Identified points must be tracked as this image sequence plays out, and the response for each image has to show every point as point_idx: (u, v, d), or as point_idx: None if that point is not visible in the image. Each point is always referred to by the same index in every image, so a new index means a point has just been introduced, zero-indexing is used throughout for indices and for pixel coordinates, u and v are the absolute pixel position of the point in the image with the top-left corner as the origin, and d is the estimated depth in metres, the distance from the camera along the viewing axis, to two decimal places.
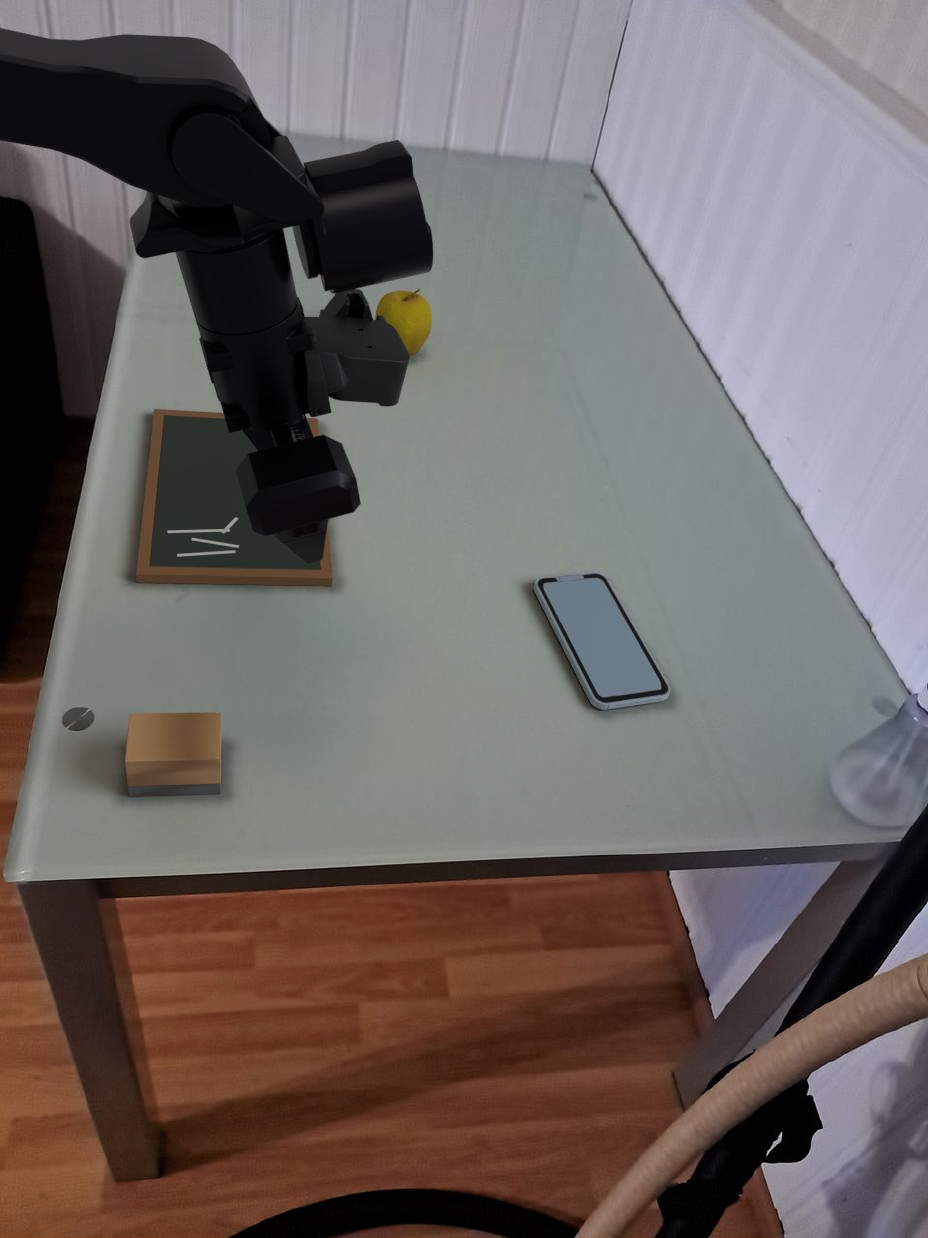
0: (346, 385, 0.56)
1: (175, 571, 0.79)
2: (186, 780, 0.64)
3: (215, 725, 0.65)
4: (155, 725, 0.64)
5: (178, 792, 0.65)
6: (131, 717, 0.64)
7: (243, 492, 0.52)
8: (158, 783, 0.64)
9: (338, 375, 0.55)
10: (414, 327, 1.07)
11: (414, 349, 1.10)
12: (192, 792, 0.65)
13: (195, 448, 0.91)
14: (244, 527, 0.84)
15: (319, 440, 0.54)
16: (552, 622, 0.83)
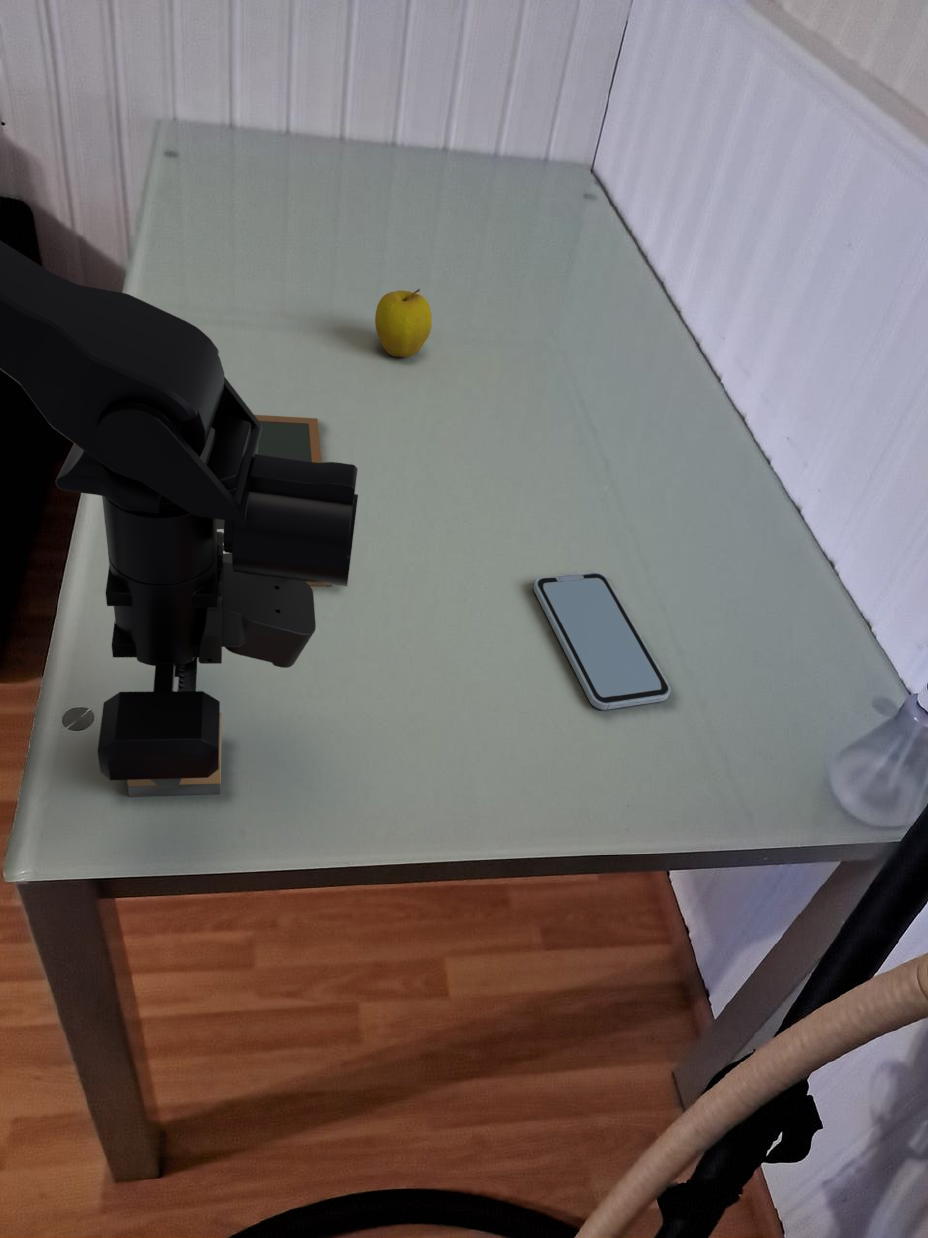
0: (243, 643, 0.55)
1: None
2: (186, 780, 0.64)
3: None
4: None
5: (178, 792, 0.65)
6: None
7: (101, 732, 0.51)
8: None
9: (237, 634, 0.55)
10: (414, 327, 1.07)
11: (414, 349, 1.10)
12: (192, 792, 0.65)
13: None
14: None
15: (196, 697, 0.53)
16: (552, 622, 0.83)
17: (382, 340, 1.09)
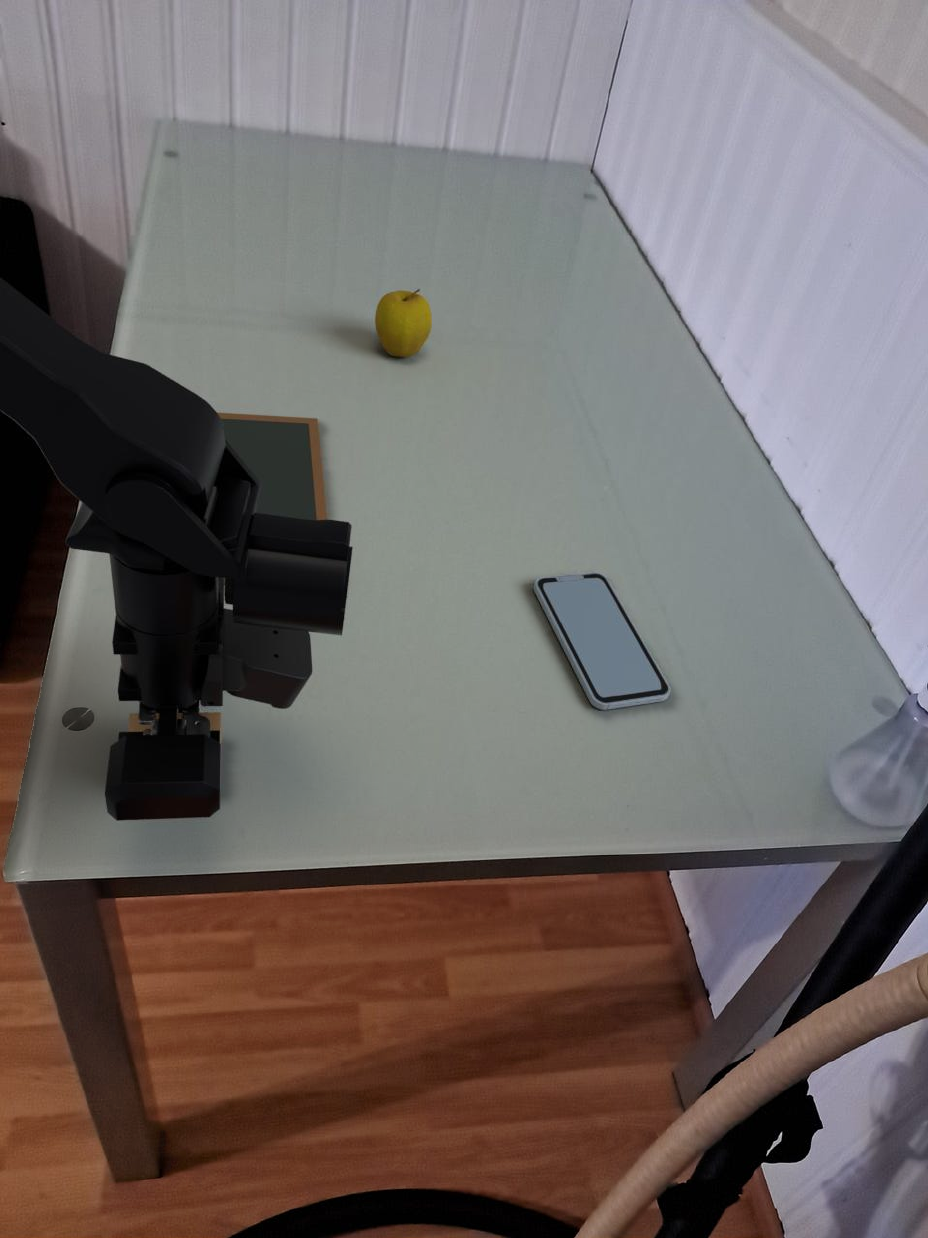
0: (243, 687, 0.58)
1: None
2: None
3: (215, 724, 0.65)
4: None
5: None
6: (131, 717, 0.64)
7: (108, 775, 0.54)
8: None
9: (237, 678, 0.57)
10: (414, 327, 1.07)
11: (414, 349, 1.10)
12: None
13: None
14: None
15: (198, 740, 0.55)
16: (552, 622, 0.83)
17: (382, 340, 1.09)
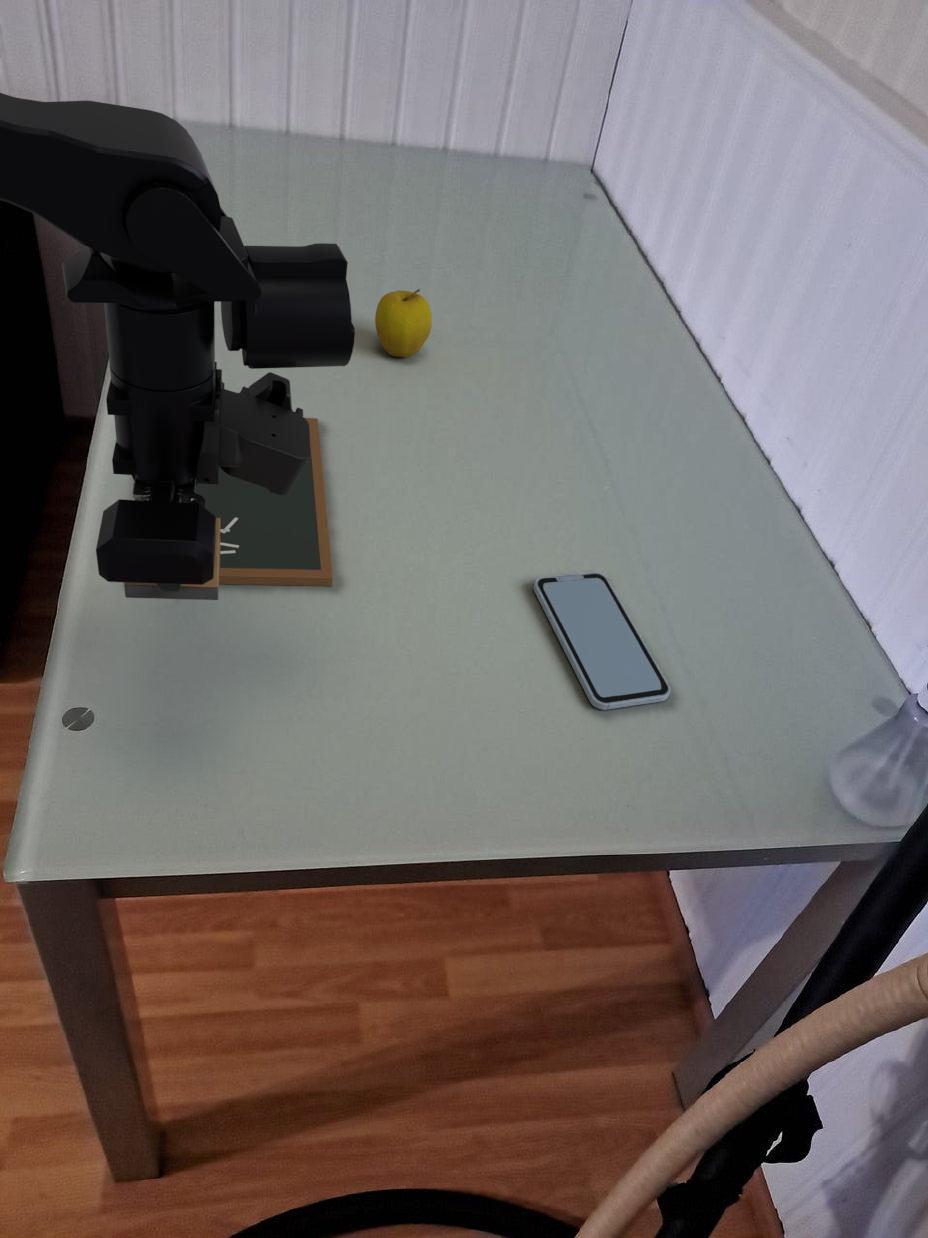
0: (239, 464, 0.57)
1: None
2: None
3: None
4: None
5: (175, 595, 0.64)
6: None
7: (100, 534, 0.53)
8: None
9: (233, 452, 0.56)
10: (414, 327, 1.07)
11: (414, 349, 1.10)
12: (189, 596, 0.64)
13: None
14: (244, 527, 0.84)
15: (192, 508, 0.54)
16: (552, 622, 0.83)
17: (382, 340, 1.09)
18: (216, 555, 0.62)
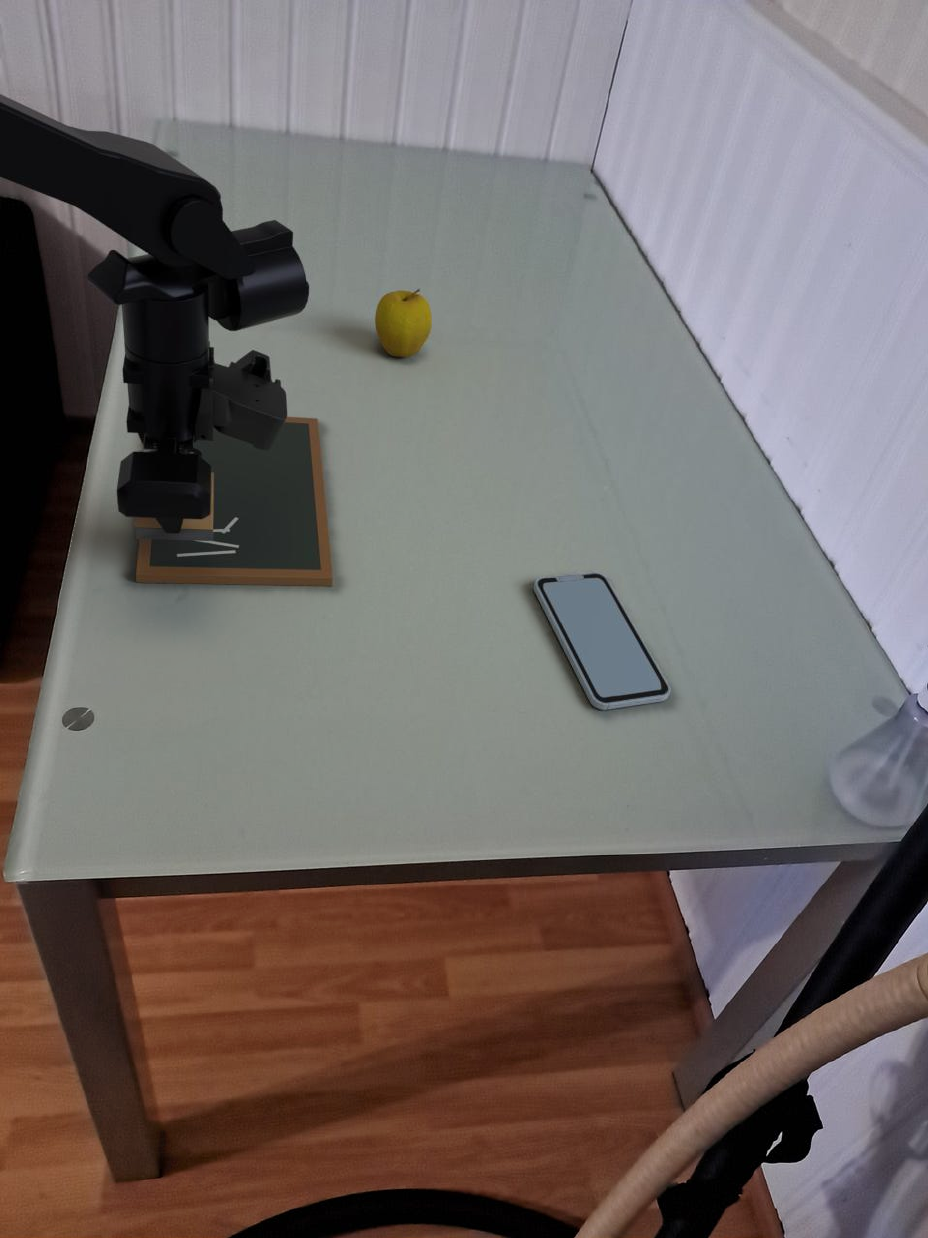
0: (229, 423, 0.70)
1: (175, 571, 0.79)
2: (184, 523, 0.77)
3: None
4: None
5: (177, 536, 0.77)
6: None
7: (119, 479, 0.66)
8: (160, 525, 0.76)
9: (224, 414, 0.69)
10: (414, 327, 1.07)
11: (414, 349, 1.10)
12: (189, 537, 0.78)
13: (195, 448, 0.91)
14: (244, 527, 0.84)
15: (192, 458, 0.68)
16: (552, 622, 0.83)
17: (382, 340, 1.09)
18: (211, 501, 0.76)
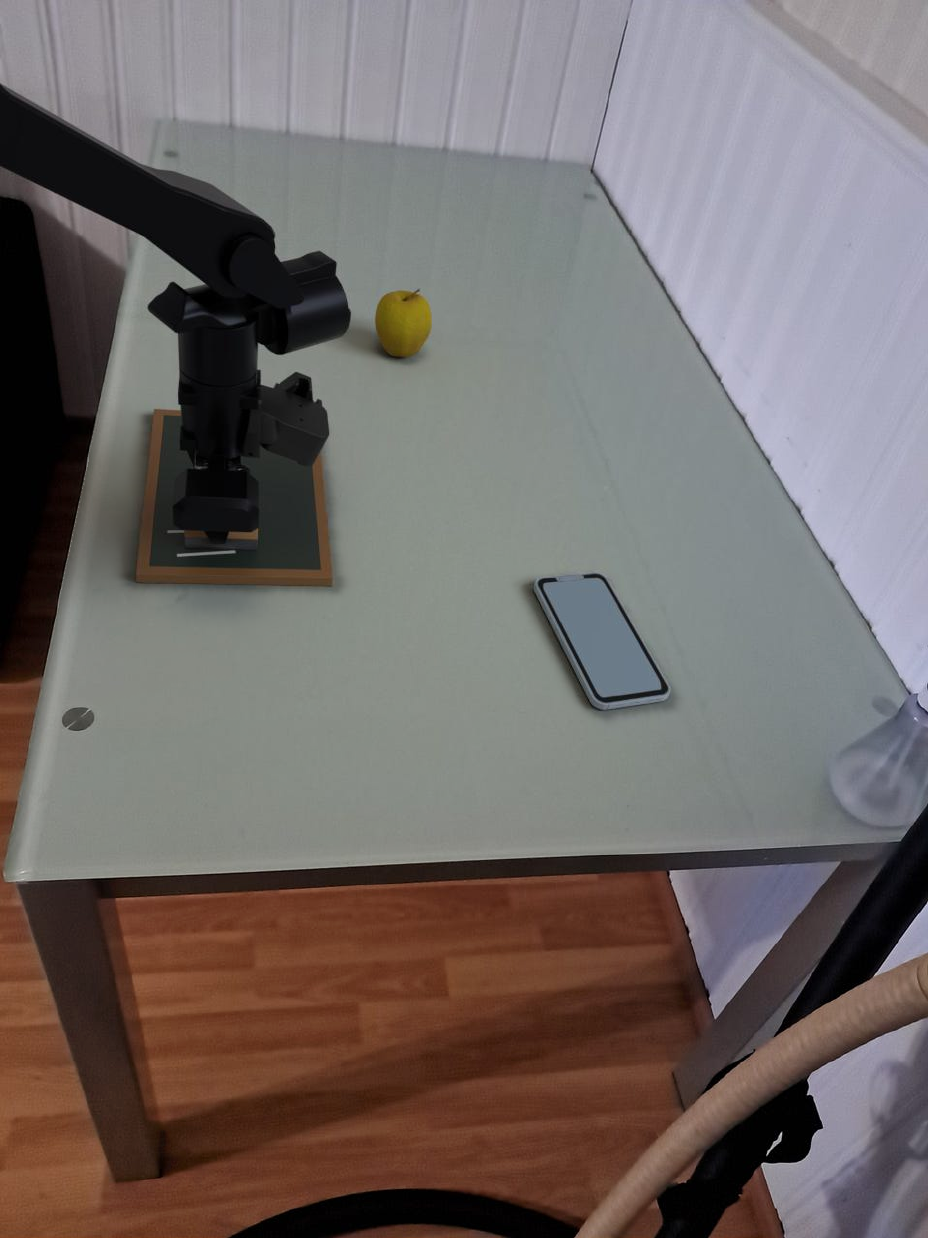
0: (275, 441, 0.74)
1: (175, 571, 0.79)
2: (230, 533, 0.81)
3: None
4: None
5: (224, 546, 0.82)
6: None
7: (174, 494, 0.70)
8: None
9: (271, 433, 0.74)
10: (414, 327, 1.07)
11: (414, 349, 1.10)
12: (234, 546, 0.82)
13: None
14: None
15: (242, 474, 0.72)
16: (552, 622, 0.83)
17: (382, 340, 1.09)
18: None
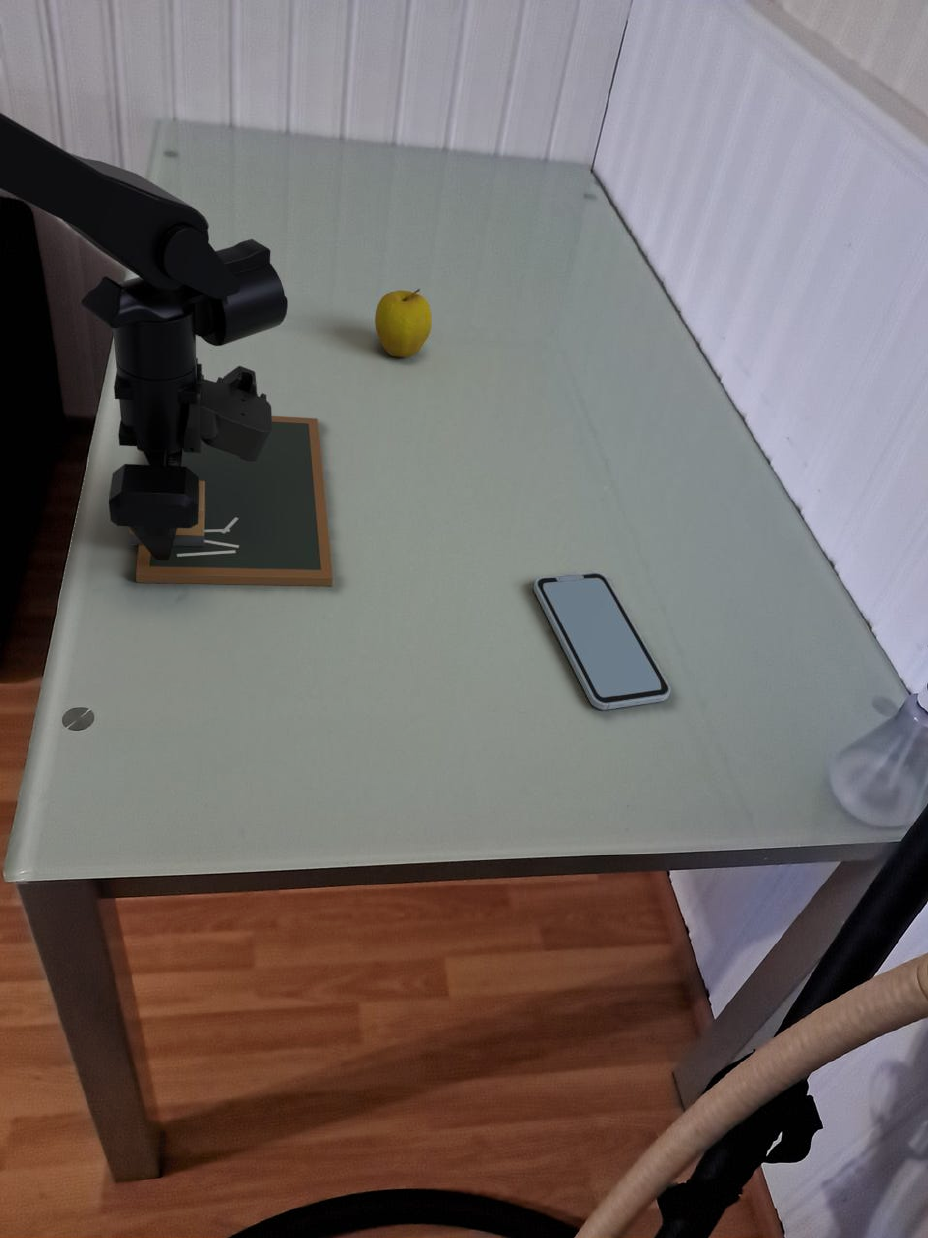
0: (216, 436, 0.73)
1: (175, 571, 0.79)
2: None
3: (199, 488, 0.81)
4: None
5: None
6: None
7: (111, 490, 0.69)
8: None
9: (212, 427, 0.73)
10: (414, 327, 1.07)
11: (414, 349, 1.10)
12: (180, 543, 0.81)
13: None
14: (244, 527, 0.84)
15: (181, 470, 0.71)
16: (552, 622, 0.83)
17: (382, 340, 1.09)
18: (202, 509, 0.79)
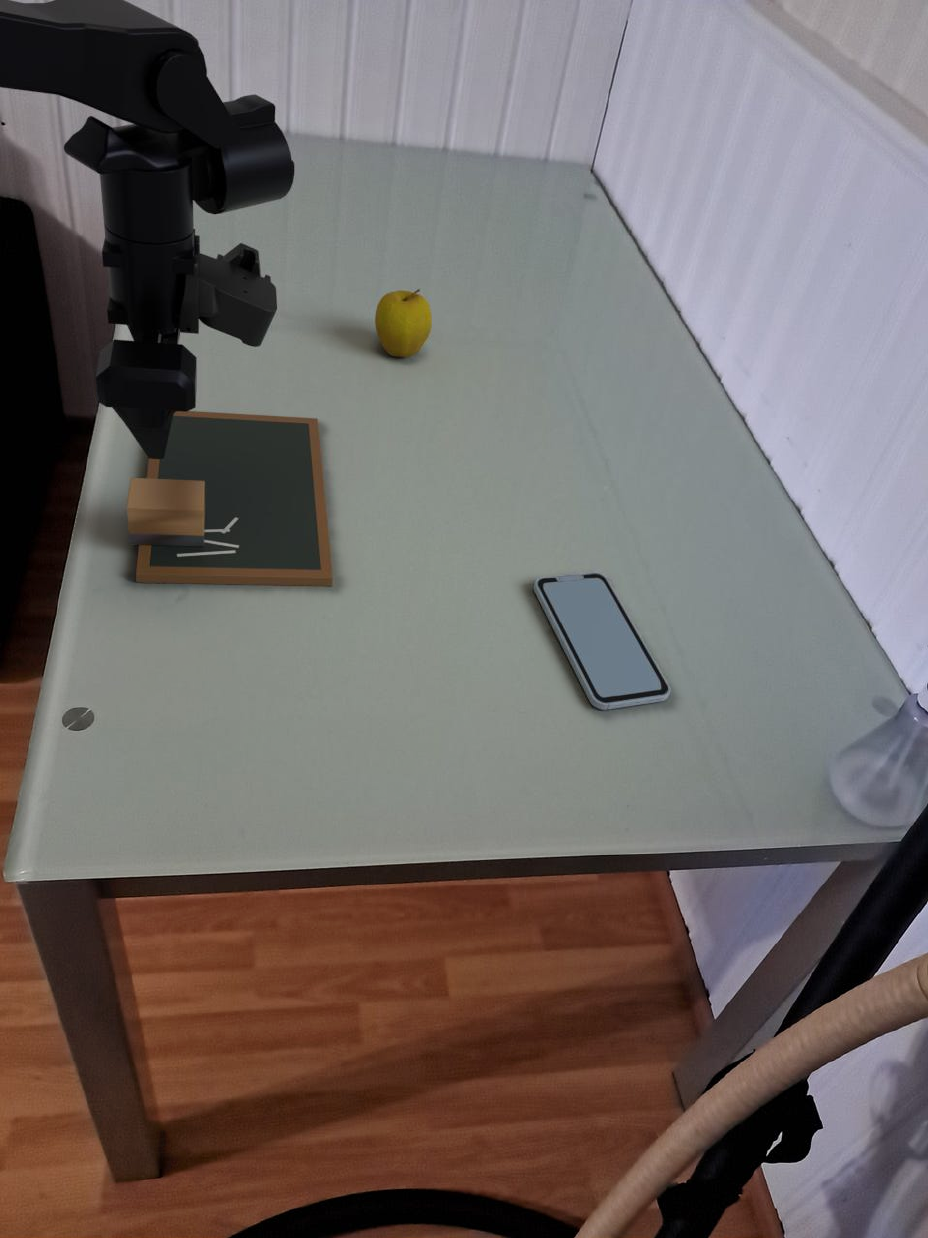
0: (216, 314, 0.67)
1: (175, 571, 0.79)
2: (176, 530, 0.80)
3: (199, 488, 0.81)
4: (151, 486, 0.80)
5: (169, 542, 0.81)
6: (132, 480, 0.80)
7: (98, 366, 0.62)
8: (153, 532, 0.80)
9: (210, 304, 0.66)
10: (414, 327, 1.07)
11: (414, 349, 1.10)
12: (180, 543, 0.81)
13: (195, 448, 0.91)
14: (244, 527, 0.84)
15: (176, 347, 0.64)
16: (552, 622, 0.83)
17: (382, 340, 1.09)
18: (202, 509, 0.79)
